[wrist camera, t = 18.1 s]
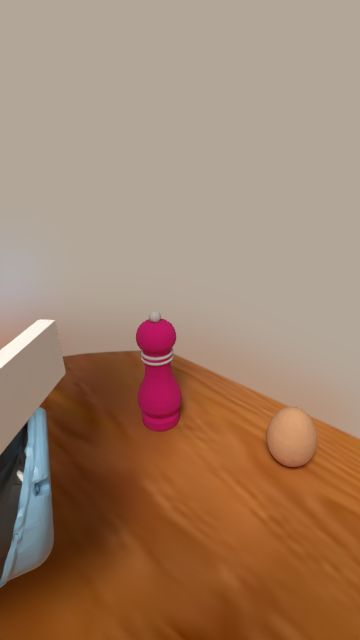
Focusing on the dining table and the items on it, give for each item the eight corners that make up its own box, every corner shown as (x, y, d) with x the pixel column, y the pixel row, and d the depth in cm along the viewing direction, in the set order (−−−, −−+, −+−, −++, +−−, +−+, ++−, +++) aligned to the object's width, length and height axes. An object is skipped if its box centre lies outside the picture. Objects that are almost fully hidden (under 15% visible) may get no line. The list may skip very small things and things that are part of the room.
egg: (256, 462, 48) (261, 412, 44) (277, 436, 52) (283, 389, 49) (300, 488, 44) (310, 436, 40) (319, 457, 48) (329, 408, 45)
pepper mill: (186, 407, 59) (184, 303, 51) (176, 437, 53) (172, 323, 44) (147, 402, 61) (139, 300, 52) (133, 430, 54) (121, 319, 46)
